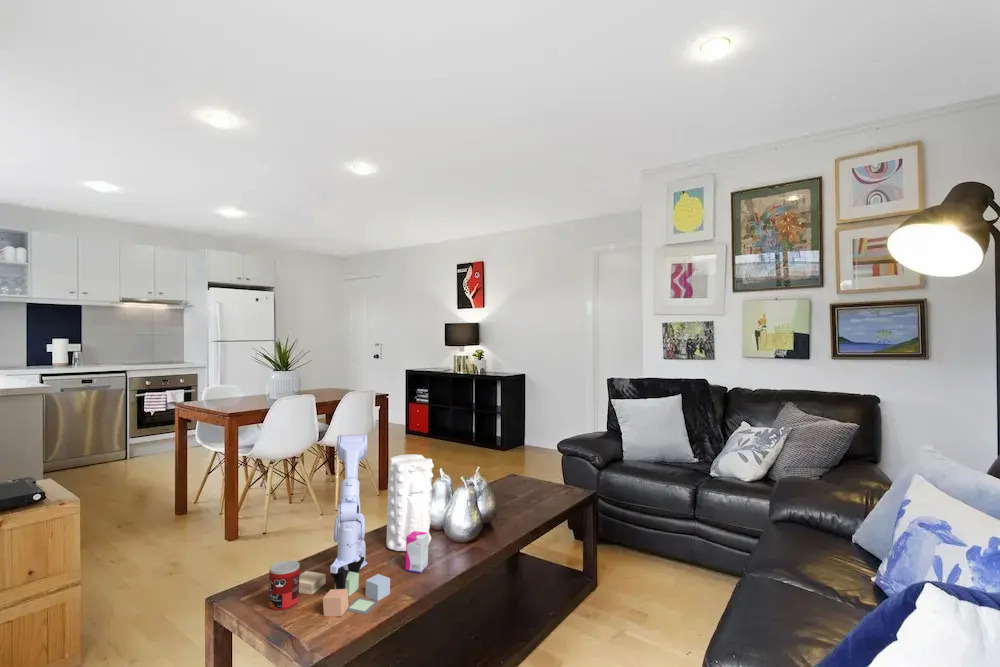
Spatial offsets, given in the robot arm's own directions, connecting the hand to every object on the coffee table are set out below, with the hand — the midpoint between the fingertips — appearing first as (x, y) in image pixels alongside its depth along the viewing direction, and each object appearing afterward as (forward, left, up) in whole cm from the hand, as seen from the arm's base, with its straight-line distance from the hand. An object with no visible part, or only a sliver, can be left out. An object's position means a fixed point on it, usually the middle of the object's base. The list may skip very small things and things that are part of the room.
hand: (346, 586), depth 153 cm
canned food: (+12, -13, -2) cm, 18 cm away
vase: (-38, +1, -2) cm, 38 cm away
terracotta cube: (+11, +4, -1) cm, 12 cm away
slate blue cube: (-1, +10, -2) cm, 10 cm away
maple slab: (+2, -12, -2) cm, 12 cm away
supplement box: (-21, +13, -2) cm, 25 cm away
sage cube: (0, 0, -2) cm, 2 cm away
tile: (+6, +9, -1) cm, 11 cm away
